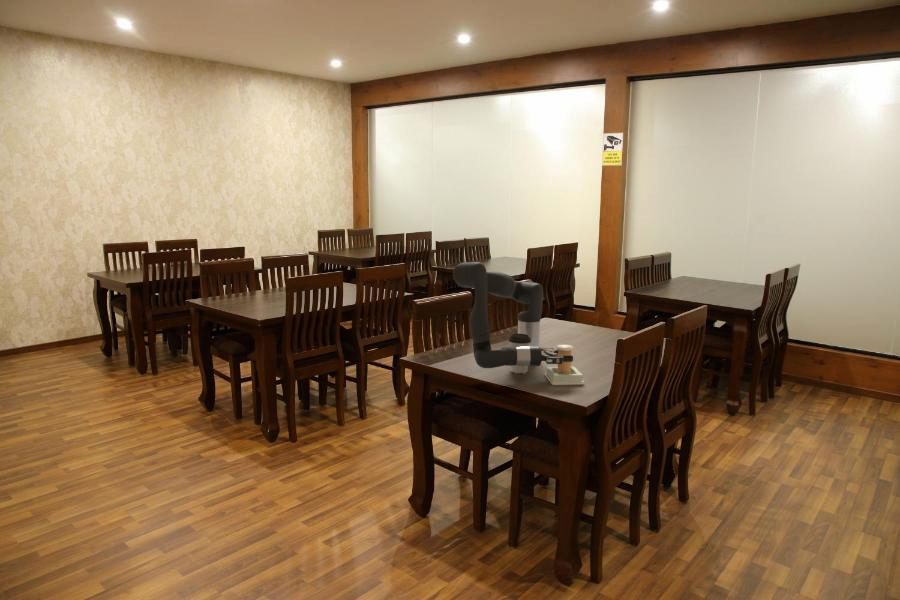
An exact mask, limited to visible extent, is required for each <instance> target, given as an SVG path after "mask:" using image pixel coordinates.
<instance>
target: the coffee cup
mask: <svg viewBox="0 0 900 600" xmlns="http://www.w3.org/2000/svg"><path fill="white" fill-rule="evenodd" d="M507 340H508V347H519V346H530V344H531V339H530V338H529V336H528V335H526V334H518V333H511V335H510V336H509V338H508V339H507ZM509 367H510V368H509V371H510V372H511V371H512V372H514V373H513V374H517V373H523V374H527V373H528V368H529V366H509ZM512 372H511V373H512ZM526 372H527V373H526Z"/></svg>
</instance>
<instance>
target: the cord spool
mask: <svg viewBox="0 0 900 600" xmlns="http://www.w3.org/2000/svg"><path fill="white" fill-rule="evenodd" d="M556 349H557V350H558V355H562V356H572V351H574V346H573V345H570V344H558V345H556ZM558 360H559V359H558ZM571 365H572V362H563V364H557V367H558V373H556V374H570V370H571V367H572V366H571Z"/></svg>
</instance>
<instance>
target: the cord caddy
mask: <svg viewBox="0 0 900 600" xmlns="http://www.w3.org/2000/svg"><path fill="white" fill-rule="evenodd" d="M545 369H546V372H544V376H545V378H546V379H547V380H548V381H550V382H549V383H550V384H551V385H552V386H568V385H574V386H575V385H576V386H577V385H585V383H584V382H585V381H584V380H583V376H584V375H583V374H582V372H580V371H579V369H578V368H576V367H575V366H571V370H570V374H556V373H558V366H546V368H545Z"/></svg>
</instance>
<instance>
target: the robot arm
mask: <svg viewBox="0 0 900 600" xmlns="http://www.w3.org/2000/svg"><path fill="white" fill-rule="evenodd" d="M452 278H453V281H454V282H455V283H456V285H457V286H458V287H461V288H466V289H467V288H468V289H474V294H475V296H474V297H475V298H474V299H475V300H474V303H473V306H472V309H471V313H470V315H469V329H470V336H471V339H472V350H473V357H474V360H475V363H476V365H478V366H479V367H480V368H482V369H494V368H499V367H504V366H507V367H510V366H528V367H540V366H541V364H542V362H545V363H546V364H547V365H558V364H563V362H571V363H573V361H574V355H571V356H562V355H558V350H557V348H554V347H540V345H541V344H540V342H541V341H540V340H541V338H540V337H541V317H542V314H543V305H544V304H543V303H544V302H543V301H544V288H543V285H542V284H540V283H537V282H530V281H529V282H528V281H517V280H515V279H514V278H513V277H512V276H511V275H509V274H507V273H504V272H500V271H495V270H487V268H486V266H485V265H484V263H482V262H480V261H471V262H469V261H468V262H467V261H465V262H461V263H459V264H456V265H455V267H454V268H453V271H452ZM488 294H490V295H493V296H495V297H500V298H510V299H511V300H514V301H516V302H517V303H519V304H524V305H529V306H528V310H525V311H520V312H519V313H518V315H517V316H518V320H517V334H526V335H528V336H529V338H530V339H531V344H530V346H519V347H509V346H505V347H501V348H499V349H492V345H491V340H490V339H491V330H490V329H491V328H490V324H489V323H490V322H489V316H488ZM558 359H559V360H558Z"/></svg>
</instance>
